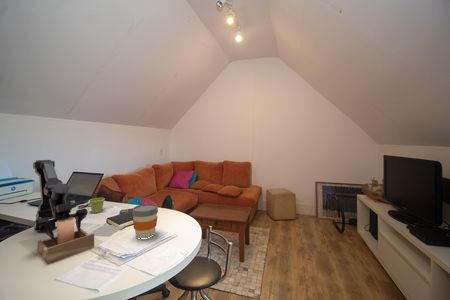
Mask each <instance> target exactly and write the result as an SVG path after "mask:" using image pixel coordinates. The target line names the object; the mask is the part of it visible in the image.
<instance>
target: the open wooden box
mask: <svg viewBox="0 0 450 300" xmlns="http://www.w3.org/2000/svg"><path fill="white" fill-rule="evenodd" d="M36 243H37V251H38V252H39V253H40V255H41V257H42V258H43V259H44V260H45V262H46V263H47V265H50V264H52V263H55V262H58V261H60V260H64V259H66V258H69V257H71V256H74V255H77V254H81V253H83V252H85V251H88V250H91V249H93V248H95V236H94V234H90V235H89V233H87V232H86V231H85V230H83V229H82V228H80V232H78V230H74V240H71V241H68V242H65V243H62V244H59V245H57V236H54V240H52V239H51V238H48V239H44V240H41V239H39V240H37V242H36Z"/></svg>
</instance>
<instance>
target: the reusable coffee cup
mask: <svg viewBox="0 0 450 300" xmlns="http://www.w3.org/2000/svg"><path fill="white" fill-rule="evenodd" d="M158 212H159V208H158V205H157V204H155V203H145V204H143V203H142V204H138V205H136V206H134V207H133V208H132V212H131V215H132V224H133V229H134V231H135V232H134V233H135V238H136V237H137V238H140V239H141V238H148V237H150V236H152V235H154V236H155V234H154V233H156V226H157V224H158ZM137 238H136V239H137Z"/></svg>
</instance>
